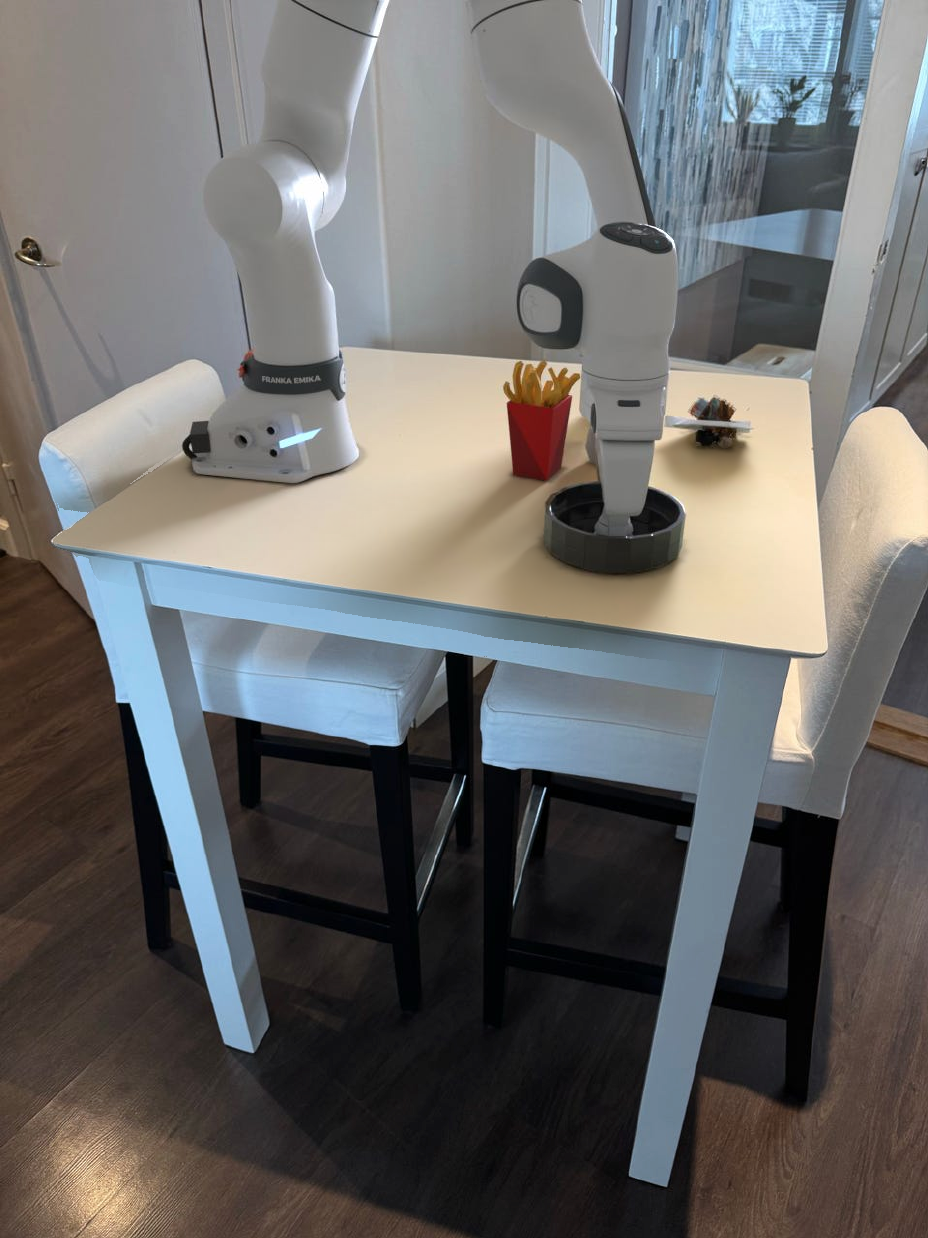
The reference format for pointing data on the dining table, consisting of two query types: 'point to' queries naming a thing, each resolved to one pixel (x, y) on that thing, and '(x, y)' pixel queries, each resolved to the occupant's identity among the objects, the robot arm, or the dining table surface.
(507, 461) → the dining table surface
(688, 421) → the white tray with chunks
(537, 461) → the french fries
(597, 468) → the pan handle
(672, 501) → the pan
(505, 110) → the robot arm
